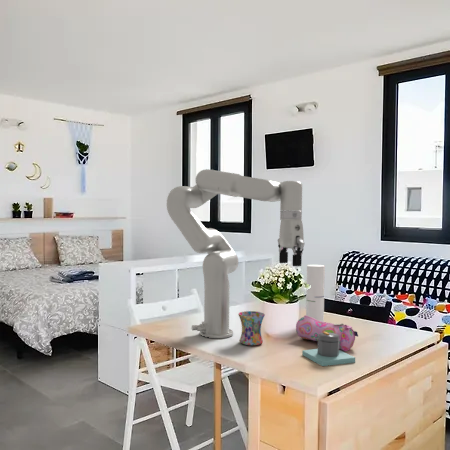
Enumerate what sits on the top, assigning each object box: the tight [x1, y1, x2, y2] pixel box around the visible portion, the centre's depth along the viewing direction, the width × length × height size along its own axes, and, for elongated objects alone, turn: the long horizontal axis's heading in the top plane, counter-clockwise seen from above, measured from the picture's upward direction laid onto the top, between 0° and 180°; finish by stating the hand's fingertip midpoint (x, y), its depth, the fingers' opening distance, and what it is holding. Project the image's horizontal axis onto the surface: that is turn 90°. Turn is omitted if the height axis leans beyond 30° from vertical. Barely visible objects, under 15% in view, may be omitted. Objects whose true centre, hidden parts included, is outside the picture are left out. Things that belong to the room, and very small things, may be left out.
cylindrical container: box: [305, 264, 326, 322], centre depth 197 cm, size 7×7×25 cm
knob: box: [317, 332, 340, 357], centre depth 154 cm, size 6×6×6 cm
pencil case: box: [295, 314, 359, 352], centre depth 170 cm, size 21×9×9 cm, turn 40°
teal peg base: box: [301, 348, 356, 367], centre depth 154 cm, size 12×12×5 cm
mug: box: [238, 310, 266, 346], centre depth 171 cm, size 12×9×11 cm
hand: (290, 264), depth 169 cm, fingers open, 9 cm apart
